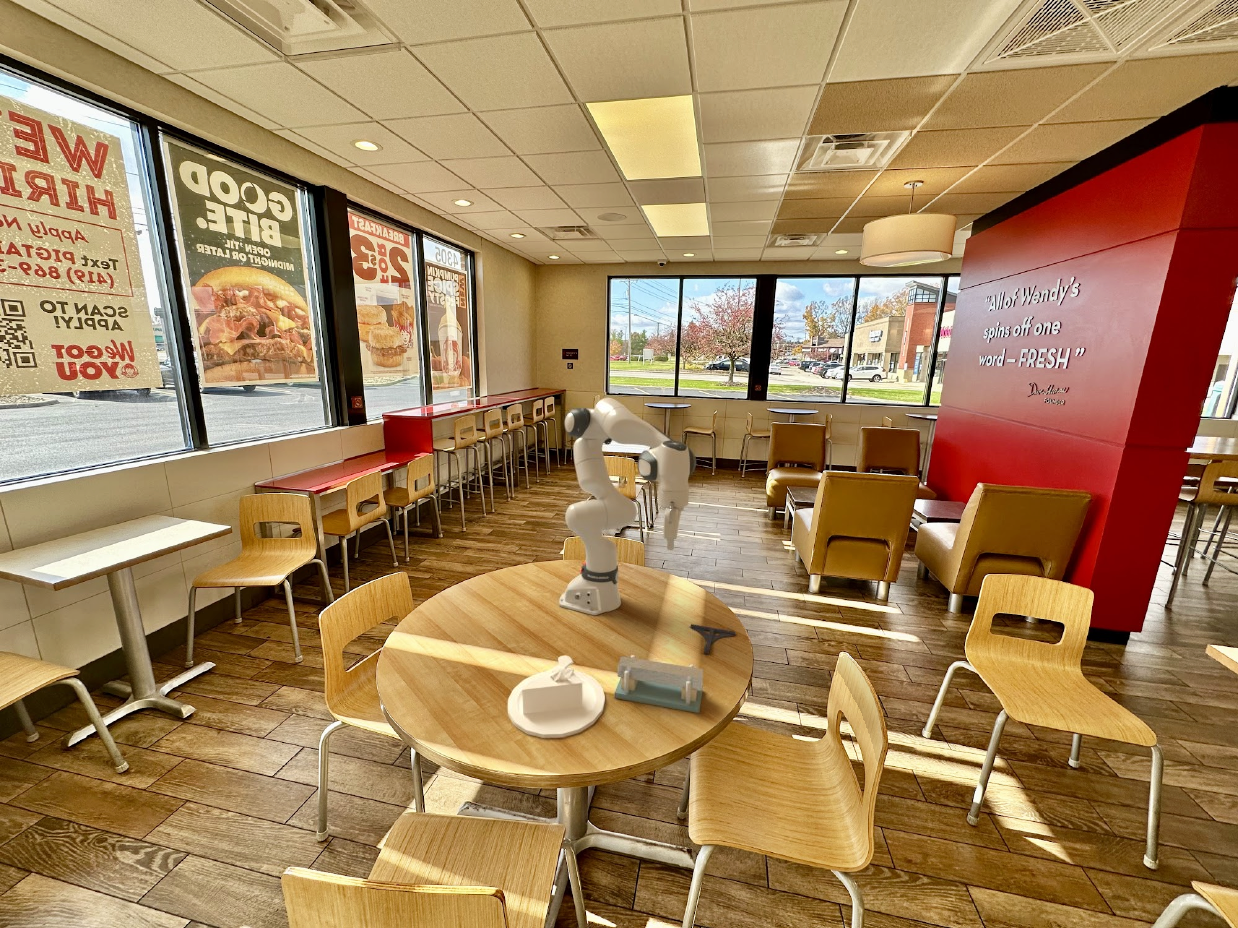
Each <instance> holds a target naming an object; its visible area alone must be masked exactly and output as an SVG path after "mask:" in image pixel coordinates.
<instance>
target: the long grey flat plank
mask: <svg viewBox="0 0 1238 928" xmlns="http://www.w3.org/2000/svg"><path fill="white" fill-rule="evenodd" d="M625 671H629V679H635V680H641V681H647V682H652V683H658V684H664V685H670V686H676V687H682V688H686V682H687V681H690V682H691V689H694V690H699V691H701V690H702V691H703V689H702V686H703V681H704V669H703V668H700V667H699V668H698V667H694V668H693V667H690V666H686V665H681V664H680V665H679V664H673V663H666V662H661V661H656V660H655V661H654V660H648V659H642V658H636V657H635V658H631V656H630V657H628V656H623V655H621V656H620V659H619V661H618V664H617V677H618V678H621V677H623V678H624V674H625Z"/></svg>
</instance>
